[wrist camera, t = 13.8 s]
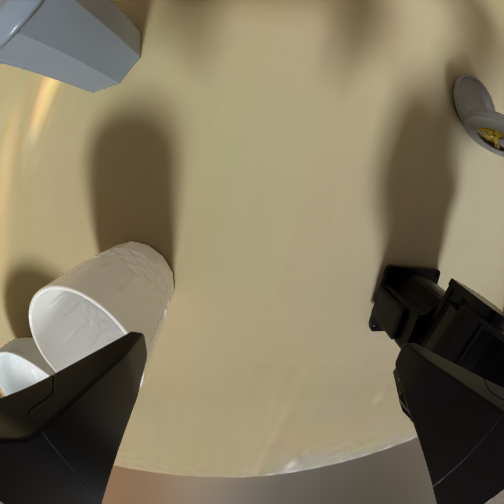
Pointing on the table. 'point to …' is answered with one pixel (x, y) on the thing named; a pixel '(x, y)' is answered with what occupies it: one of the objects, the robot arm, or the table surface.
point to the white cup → (102, 304)
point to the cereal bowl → (22, 365)
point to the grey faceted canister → (69, 40)
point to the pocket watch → (479, 114)
